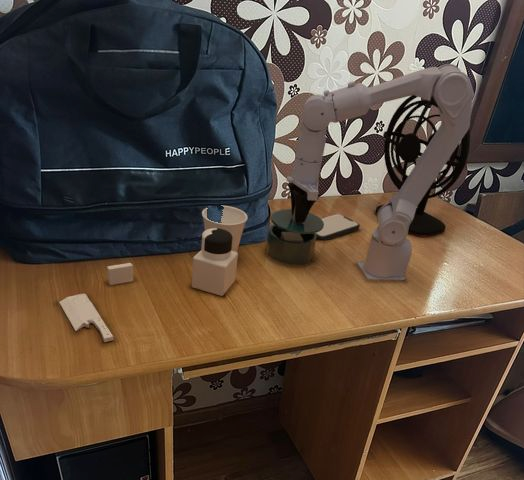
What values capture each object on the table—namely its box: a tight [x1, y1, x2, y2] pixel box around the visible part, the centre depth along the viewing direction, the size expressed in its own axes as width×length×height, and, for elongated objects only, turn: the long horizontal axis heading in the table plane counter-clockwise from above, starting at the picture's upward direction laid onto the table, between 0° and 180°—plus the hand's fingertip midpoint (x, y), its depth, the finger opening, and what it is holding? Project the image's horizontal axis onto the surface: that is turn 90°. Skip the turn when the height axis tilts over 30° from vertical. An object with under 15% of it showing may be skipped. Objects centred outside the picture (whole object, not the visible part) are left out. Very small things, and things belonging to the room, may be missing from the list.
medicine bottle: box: [191, 228, 239, 297], centre depth 103 cm, size 7×7×12 cm
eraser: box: [106, 262, 134, 286], centre depth 102 cm, size 1×5×4 cm, turn 121°
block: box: [280, 232, 304, 243], centre depth 120 cm, size 4×4×5 cm
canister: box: [265, 224, 317, 265], centre depth 120 cm, size 11×11×6 cm
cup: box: [201, 205, 248, 253], centre depth 112 cm, size 10×10×11 cm
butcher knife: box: [58, 293, 115, 343], centre depth 91 cm, size 5×15×1 cm, turn 33°
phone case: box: [316, 213, 360, 242], centre depth 136 cm, size 9×2×16 cm
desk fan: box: [375, 95, 471, 237], centre depth 137 cm, size 27×18×35 cm, turn 34°
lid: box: [270, 208, 324, 234], centre depth 115 cm, size 12×12×4 cm
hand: (298, 218), depth 115 cm, fingers closed on lid, 2 cm apart
